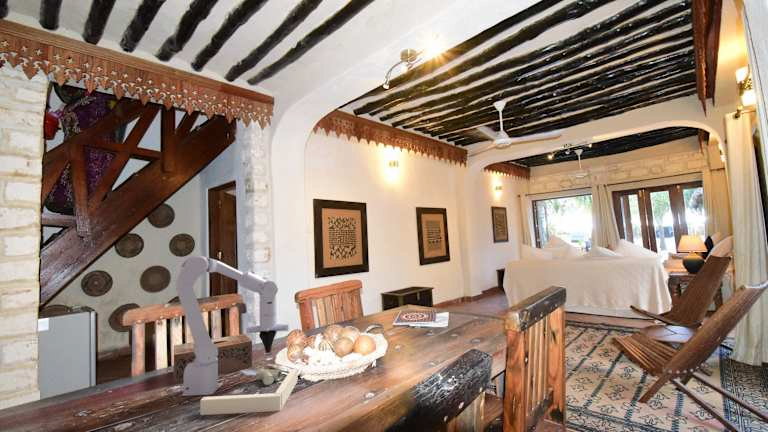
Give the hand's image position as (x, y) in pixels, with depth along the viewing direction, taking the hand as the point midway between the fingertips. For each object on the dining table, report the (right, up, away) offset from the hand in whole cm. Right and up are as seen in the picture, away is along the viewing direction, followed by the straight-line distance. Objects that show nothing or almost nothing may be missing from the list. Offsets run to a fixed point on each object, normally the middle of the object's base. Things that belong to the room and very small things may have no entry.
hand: (268, 352), depth 123 cm
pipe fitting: (+2, -8, -7) cm, 11 cm away
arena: (+2, -6, -18) cm, 19 cm away
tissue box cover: (-24, -10, +8) cm, 27 cm away
